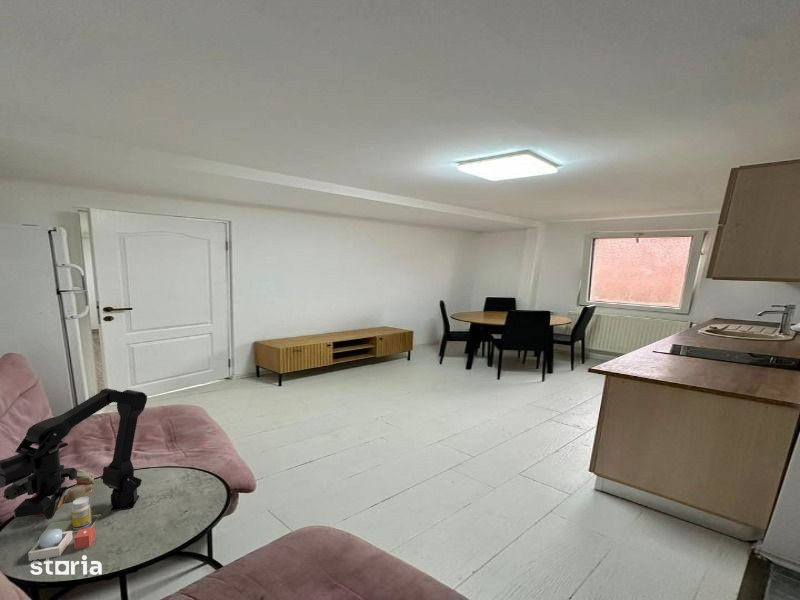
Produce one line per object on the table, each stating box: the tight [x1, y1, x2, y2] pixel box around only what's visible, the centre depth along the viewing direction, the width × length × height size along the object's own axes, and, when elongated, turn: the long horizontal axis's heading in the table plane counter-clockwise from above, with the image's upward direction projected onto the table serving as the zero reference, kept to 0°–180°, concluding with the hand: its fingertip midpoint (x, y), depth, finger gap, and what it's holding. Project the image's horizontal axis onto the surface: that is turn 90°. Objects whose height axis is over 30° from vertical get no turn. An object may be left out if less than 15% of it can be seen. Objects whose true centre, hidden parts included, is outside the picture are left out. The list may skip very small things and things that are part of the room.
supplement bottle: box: [71, 495, 93, 530], centre depth 117 cm, size 5×5×8 cm
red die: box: [73, 526, 96, 550], centre depth 110 cm, size 4×4×4 cm
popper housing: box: [27, 530, 74, 562], centre depth 108 cm, size 7×7×2 cm
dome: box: [38, 529, 62, 549], centre depth 107 cm, size 5×5×3 cm
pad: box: [41, 519, 72, 535], centre depth 116 cm, size 6×6×1 cm
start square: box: [64, 513, 102, 534], centre depth 118 cm, size 7×7×1 cm
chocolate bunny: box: [64, 468, 95, 503], centre depth 131 cm, size 6×8×10 cm
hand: (50, 518), depth 107 cm, fingers closed
